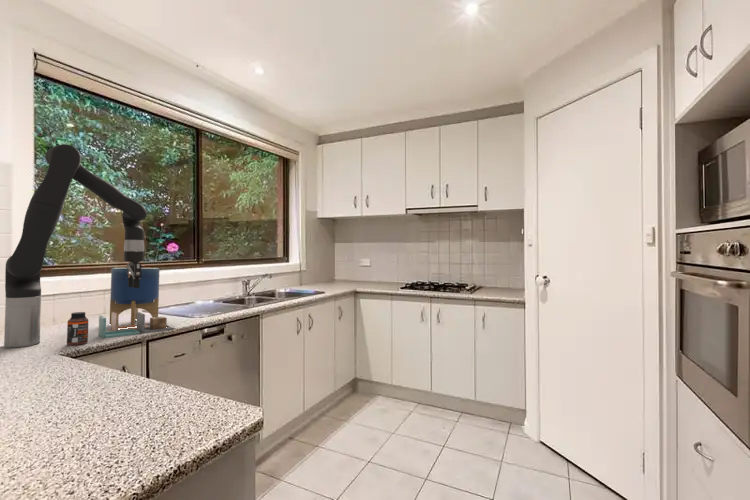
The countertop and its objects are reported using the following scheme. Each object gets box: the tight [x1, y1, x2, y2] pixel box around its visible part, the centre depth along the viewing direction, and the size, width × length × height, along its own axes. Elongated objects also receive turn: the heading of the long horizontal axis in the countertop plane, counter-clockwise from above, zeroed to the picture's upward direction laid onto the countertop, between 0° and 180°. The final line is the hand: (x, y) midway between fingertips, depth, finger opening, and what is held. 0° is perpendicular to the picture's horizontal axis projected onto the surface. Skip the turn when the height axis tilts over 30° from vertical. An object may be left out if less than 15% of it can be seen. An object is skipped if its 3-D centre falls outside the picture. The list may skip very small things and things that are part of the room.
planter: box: [108, 267, 160, 325], centre depth 174 cm, size 19×19×26 cm
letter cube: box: [149, 316, 168, 330], centre depth 158 cm, size 5×5×5 cm
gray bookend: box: [136, 311, 175, 334], centre depth 157 cm, size 12×9×8 cm
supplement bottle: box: [66, 311, 89, 346], centre depth 133 cm, size 6×6×11 cm
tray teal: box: [98, 315, 140, 340], centre depth 148 cm, size 12×9×8 cm
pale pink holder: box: [110, 311, 150, 331], centre depth 159 cm, size 12×9×8 cm
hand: (133, 287), depth 160 cm, fingers open, 8 cm apart
